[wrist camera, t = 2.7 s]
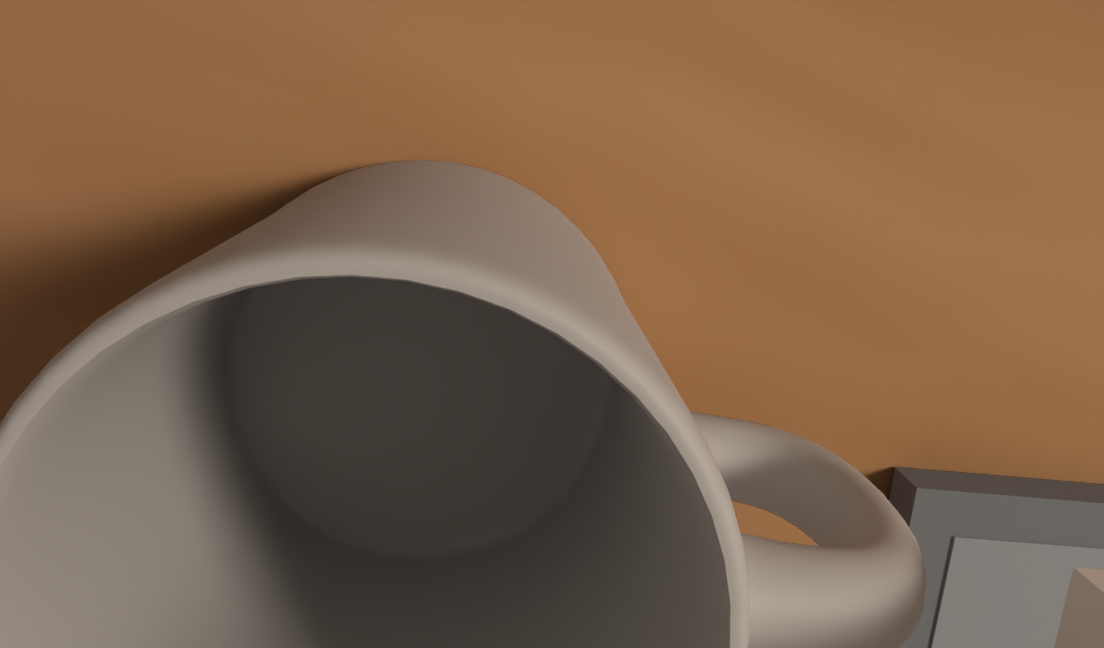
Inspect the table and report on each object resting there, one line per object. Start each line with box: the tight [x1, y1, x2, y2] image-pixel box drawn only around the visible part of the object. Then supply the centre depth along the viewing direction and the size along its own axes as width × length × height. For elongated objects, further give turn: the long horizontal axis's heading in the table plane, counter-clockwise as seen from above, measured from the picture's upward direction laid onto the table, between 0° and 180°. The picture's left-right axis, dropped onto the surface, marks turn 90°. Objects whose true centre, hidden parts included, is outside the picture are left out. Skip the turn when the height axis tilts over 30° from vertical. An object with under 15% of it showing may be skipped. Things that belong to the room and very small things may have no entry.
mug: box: [0, 160, 926, 648], centre depth 16 cm, size 12×8×11 cm
